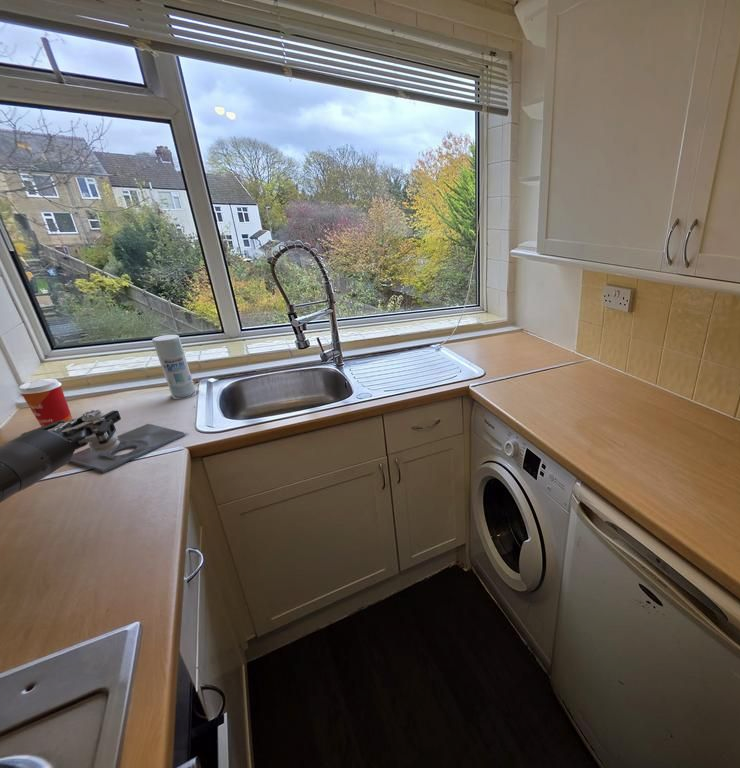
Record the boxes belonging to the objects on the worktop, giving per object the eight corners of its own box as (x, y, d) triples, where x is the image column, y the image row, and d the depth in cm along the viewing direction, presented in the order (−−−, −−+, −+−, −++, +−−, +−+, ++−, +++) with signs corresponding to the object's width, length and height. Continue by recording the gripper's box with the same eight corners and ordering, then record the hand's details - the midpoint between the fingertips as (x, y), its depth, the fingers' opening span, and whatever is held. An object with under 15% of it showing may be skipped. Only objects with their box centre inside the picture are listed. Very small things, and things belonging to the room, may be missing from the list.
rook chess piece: (85, 450, 81) (70, 415, 78) (113, 440, 85) (99, 405, 82) (99, 455, 80) (83, 419, 77) (125, 444, 84) (112, 409, 81)
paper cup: (37, 431, 110) (13, 384, 105) (76, 420, 116) (56, 375, 111) (43, 440, 106) (19, 391, 101) (84, 428, 112) (62, 382, 106)
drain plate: (105, 474, 93) (102, 469, 93) (67, 462, 97) (64, 457, 97) (185, 437, 109) (183, 432, 108) (149, 428, 113) (147, 423, 112)
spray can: (195, 390, 136) (177, 333, 128) (199, 396, 132) (180, 337, 124) (171, 396, 132) (150, 337, 124) (174, 402, 128) (153, 341, 120)
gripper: (61, 440, 66) (138, 397, 82) (-37, 444, 65) (61, 399, 81) (78, 478, 69) (150, 429, 85) (-15, 482, 68) (76, 432, 84)
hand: (106, 415), depth 83 cm, fingers closed on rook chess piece, 3 cm apart
